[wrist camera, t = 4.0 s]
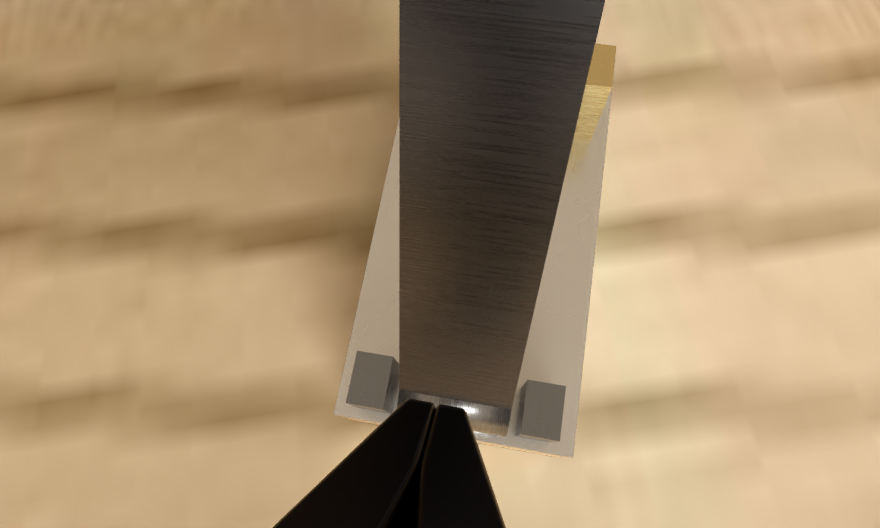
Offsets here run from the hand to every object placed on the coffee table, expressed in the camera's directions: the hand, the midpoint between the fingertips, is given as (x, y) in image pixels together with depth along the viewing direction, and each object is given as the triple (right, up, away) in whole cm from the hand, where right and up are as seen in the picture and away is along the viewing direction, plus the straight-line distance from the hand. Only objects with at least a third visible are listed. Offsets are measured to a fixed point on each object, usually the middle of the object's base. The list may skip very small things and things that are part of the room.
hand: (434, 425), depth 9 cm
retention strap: (0, -1, +8) cm, 8 cm away
